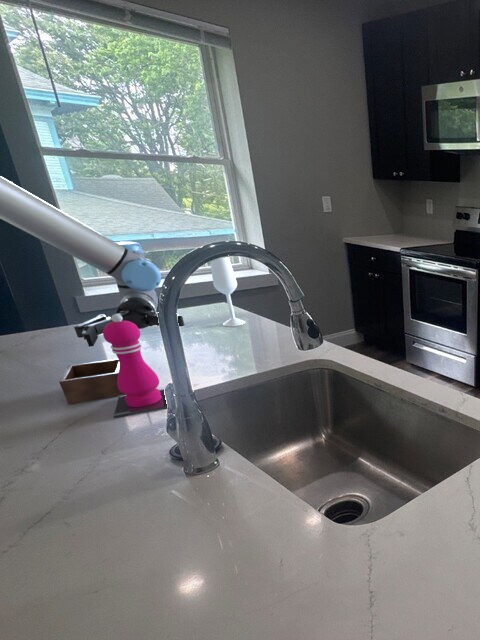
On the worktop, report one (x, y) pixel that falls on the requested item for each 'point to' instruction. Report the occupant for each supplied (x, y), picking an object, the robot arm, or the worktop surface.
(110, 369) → the mill caddy
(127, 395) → the pepper mill
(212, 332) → the worktop surface
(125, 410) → the slate coaster
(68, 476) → the worktop surface
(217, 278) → the champagne flute
